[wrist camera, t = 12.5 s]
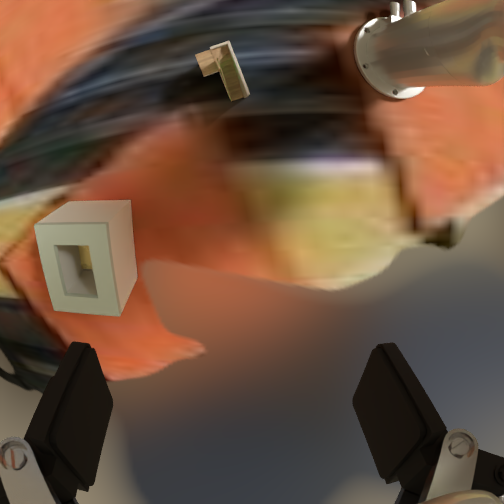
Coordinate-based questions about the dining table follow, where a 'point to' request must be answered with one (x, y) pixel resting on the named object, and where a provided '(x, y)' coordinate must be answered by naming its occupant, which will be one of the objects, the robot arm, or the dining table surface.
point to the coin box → (101, 251)
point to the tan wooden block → (85, 257)
